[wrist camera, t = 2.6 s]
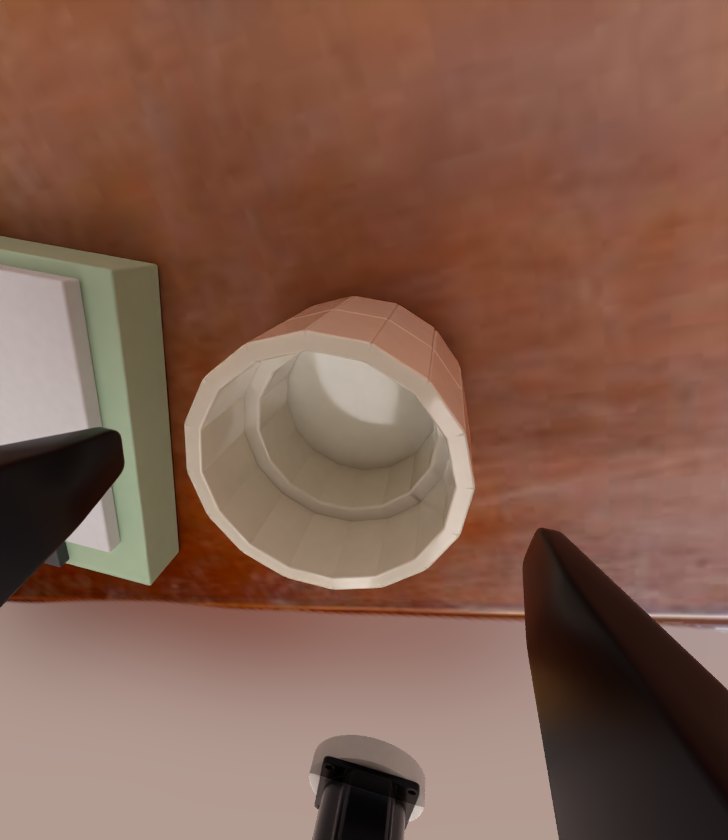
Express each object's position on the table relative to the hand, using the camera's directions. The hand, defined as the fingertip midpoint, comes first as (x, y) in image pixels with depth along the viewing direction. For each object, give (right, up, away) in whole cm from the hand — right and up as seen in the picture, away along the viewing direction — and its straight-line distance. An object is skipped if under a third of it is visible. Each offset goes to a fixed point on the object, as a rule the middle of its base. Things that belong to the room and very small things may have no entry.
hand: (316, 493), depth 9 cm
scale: (-12, +2, +7) cm, 14 cm away
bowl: (+1, +2, +5) cm, 5 cm away
